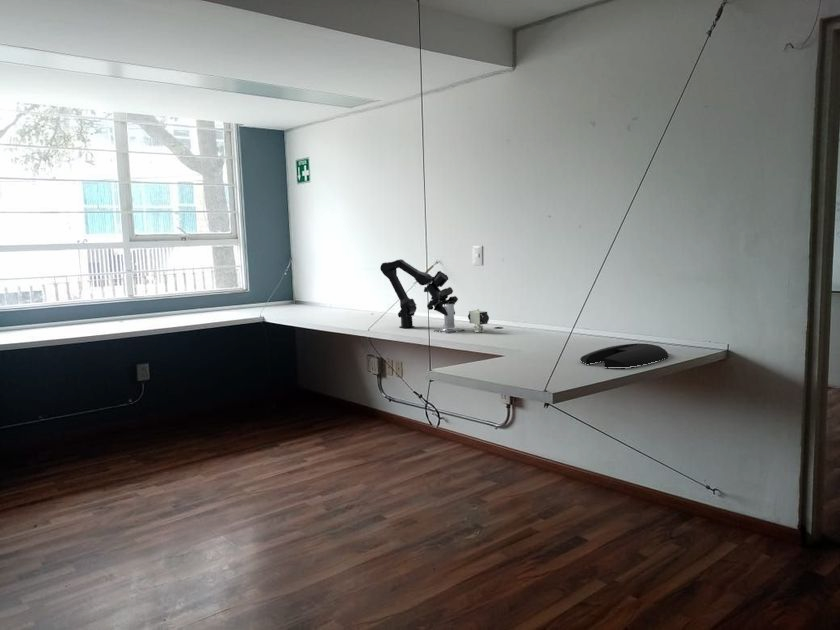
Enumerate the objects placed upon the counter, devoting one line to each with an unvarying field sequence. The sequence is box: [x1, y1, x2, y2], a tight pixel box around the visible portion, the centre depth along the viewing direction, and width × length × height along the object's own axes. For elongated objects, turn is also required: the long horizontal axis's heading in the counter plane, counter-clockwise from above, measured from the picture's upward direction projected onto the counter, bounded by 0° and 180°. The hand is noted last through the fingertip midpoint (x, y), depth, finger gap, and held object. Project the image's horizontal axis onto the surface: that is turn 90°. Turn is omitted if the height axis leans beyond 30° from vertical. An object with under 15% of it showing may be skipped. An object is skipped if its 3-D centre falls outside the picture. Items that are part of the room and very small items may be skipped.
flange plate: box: [433, 327, 466, 334], centre depth 360 cm, size 12×12×1 cm
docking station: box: [579, 342, 669, 367], centre depth 271 cm, size 25×41×5 cm, turn 129°
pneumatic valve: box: [467, 308, 490, 333], centre depth 351 cm, size 6×12×12 cm, turn 35°
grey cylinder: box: [443, 304, 456, 328], centre depth 359 cm, size 6×6×12 cm
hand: (450, 314), depth 358 cm, fingers closed on grey cylinder, 5 cm apart
